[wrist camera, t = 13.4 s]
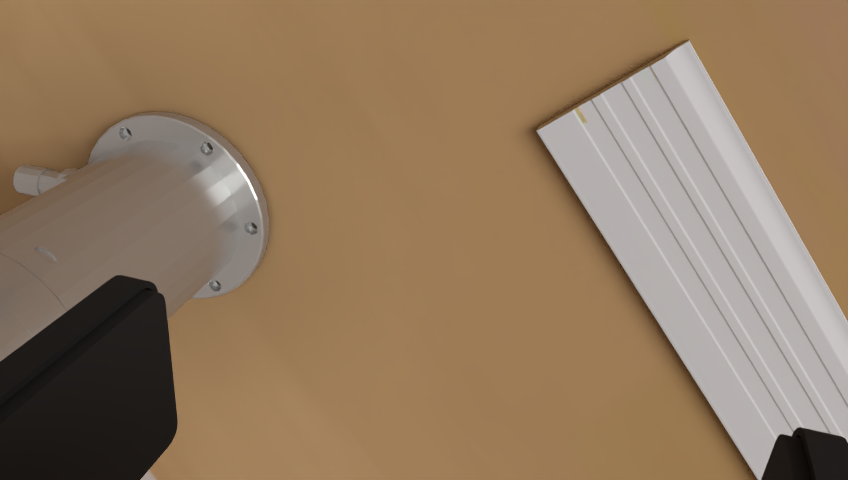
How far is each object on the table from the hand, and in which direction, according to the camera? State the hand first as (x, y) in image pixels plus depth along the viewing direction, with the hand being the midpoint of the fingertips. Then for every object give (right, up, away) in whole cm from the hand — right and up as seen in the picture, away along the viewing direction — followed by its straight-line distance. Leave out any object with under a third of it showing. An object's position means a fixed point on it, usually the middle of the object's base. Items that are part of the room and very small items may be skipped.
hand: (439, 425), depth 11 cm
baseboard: (+18, -1, +31) cm, 36 cm away
